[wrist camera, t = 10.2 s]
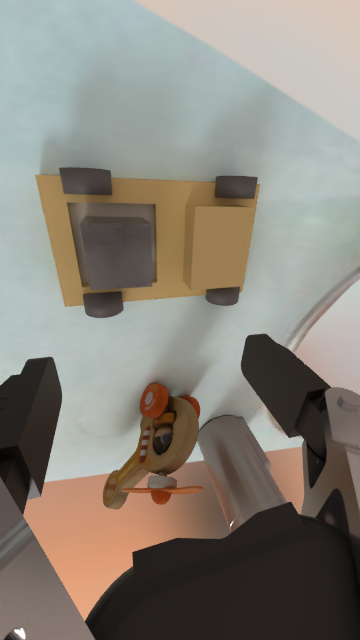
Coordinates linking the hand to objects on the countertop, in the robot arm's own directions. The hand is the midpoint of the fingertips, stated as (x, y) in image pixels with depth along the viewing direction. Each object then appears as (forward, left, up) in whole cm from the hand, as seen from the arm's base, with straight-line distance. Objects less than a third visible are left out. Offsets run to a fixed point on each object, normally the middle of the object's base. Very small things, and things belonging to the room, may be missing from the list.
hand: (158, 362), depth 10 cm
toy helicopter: (-1, +27, -19) cm, 33 cm away
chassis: (-4, -1, -19) cm, 19 cm away
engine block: (+1, -1, -19) cm, 19 cm away
